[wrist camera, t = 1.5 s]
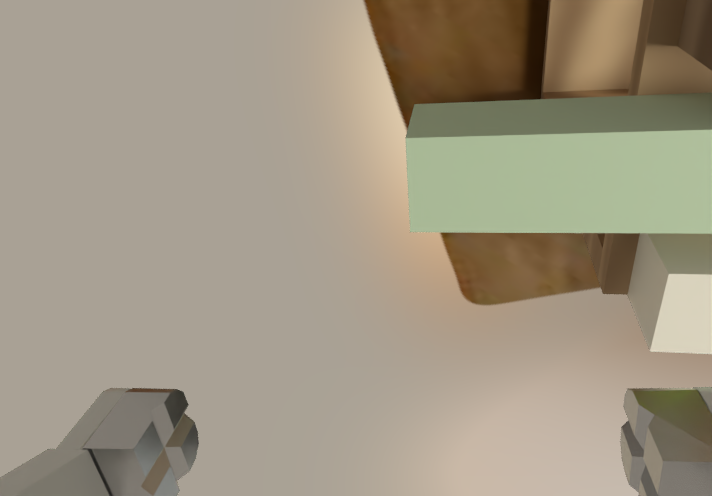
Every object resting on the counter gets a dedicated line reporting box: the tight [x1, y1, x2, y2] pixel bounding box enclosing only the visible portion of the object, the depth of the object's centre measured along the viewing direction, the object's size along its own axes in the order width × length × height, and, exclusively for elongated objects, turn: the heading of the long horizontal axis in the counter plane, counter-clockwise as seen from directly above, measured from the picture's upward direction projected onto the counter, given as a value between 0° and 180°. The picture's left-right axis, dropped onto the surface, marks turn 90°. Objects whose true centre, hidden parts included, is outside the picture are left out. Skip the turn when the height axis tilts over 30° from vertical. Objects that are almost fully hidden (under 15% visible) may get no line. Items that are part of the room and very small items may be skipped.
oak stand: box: [541, 0, 712, 294], centre depth 30 cm, size 14×14×26 cm
